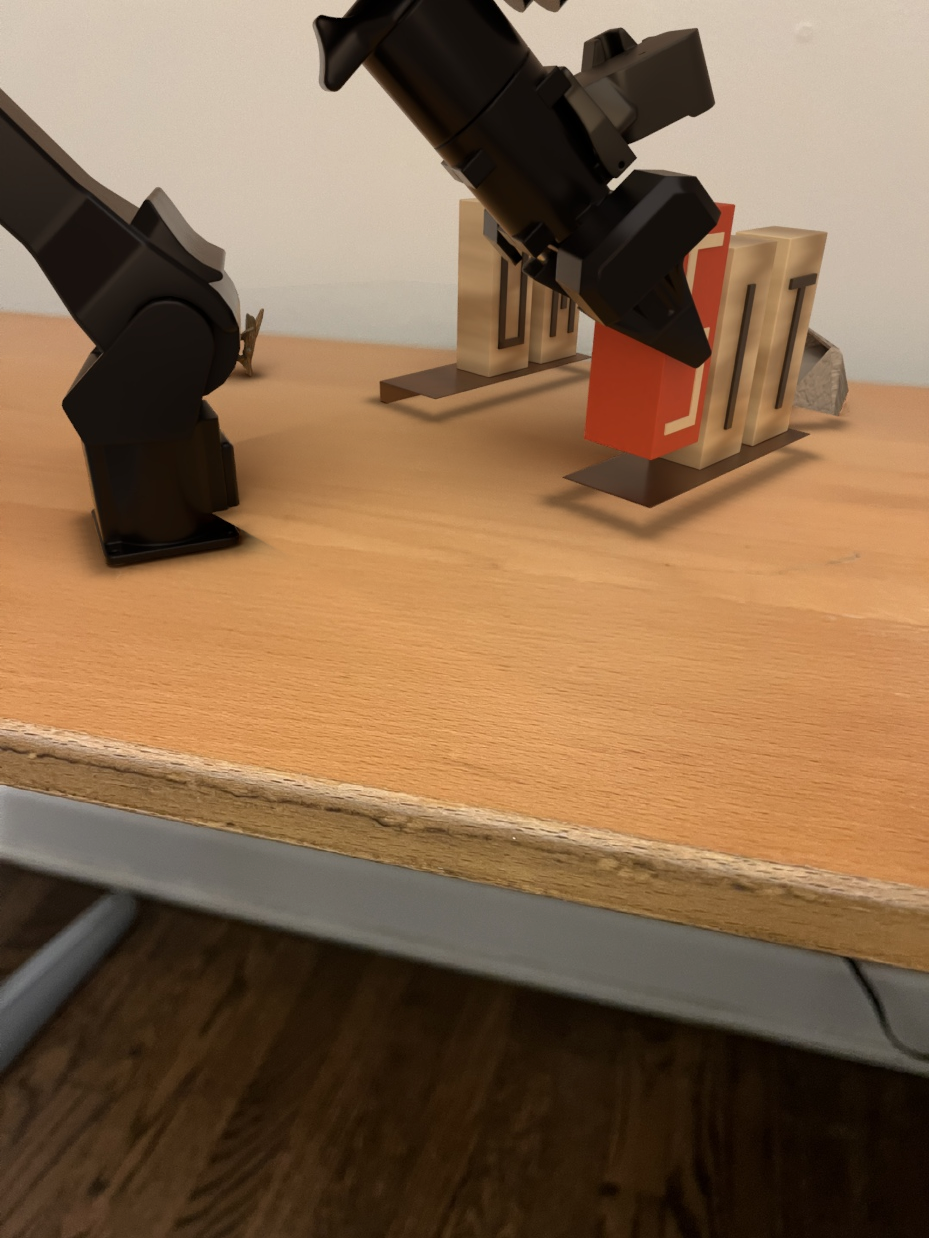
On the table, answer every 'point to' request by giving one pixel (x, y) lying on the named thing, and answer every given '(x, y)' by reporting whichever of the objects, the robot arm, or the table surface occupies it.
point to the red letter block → (657, 368)
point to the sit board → (737, 370)
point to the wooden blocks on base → (495, 322)
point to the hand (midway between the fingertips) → (677, 345)
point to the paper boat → (821, 376)
